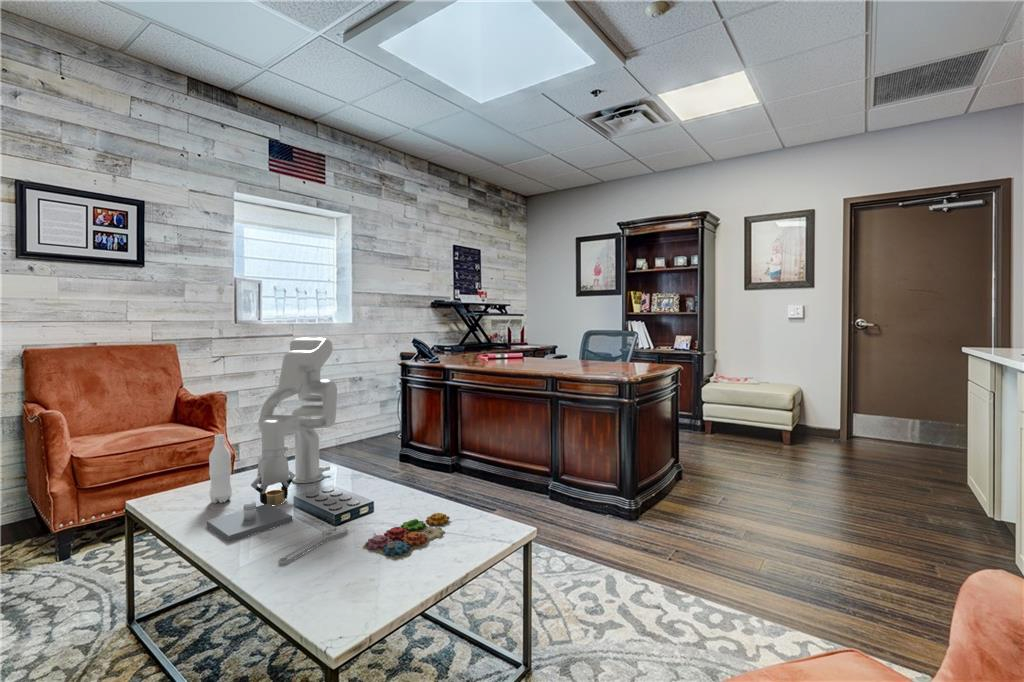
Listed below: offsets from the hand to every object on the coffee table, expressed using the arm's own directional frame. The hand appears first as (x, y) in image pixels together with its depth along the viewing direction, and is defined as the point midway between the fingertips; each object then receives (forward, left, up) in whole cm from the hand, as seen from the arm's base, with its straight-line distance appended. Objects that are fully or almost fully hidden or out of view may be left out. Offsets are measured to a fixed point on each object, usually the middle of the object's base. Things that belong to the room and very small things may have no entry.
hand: (274, 500), depth 187 cm
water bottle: (+12, -17, -1) cm, 21 cm away
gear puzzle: (-16, +62, -2) cm, 64 cm away
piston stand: (+14, +13, -1) cm, 19 cm away
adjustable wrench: (+8, +44, -2) cm, 44 cm away
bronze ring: (0, 0, -1) cm, 1 cm away
